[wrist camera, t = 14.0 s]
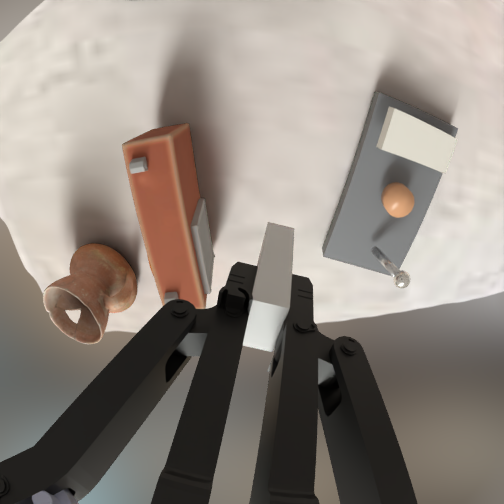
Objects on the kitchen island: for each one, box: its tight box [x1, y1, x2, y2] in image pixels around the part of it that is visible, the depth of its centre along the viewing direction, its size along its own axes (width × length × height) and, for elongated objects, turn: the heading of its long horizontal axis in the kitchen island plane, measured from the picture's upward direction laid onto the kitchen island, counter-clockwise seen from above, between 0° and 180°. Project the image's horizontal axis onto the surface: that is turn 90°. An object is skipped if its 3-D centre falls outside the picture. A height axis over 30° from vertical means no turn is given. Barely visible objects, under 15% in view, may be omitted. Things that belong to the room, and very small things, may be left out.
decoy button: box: [381, 182, 414, 218], centre depth 35 cm, size 4×4×2 cm
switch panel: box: [322, 92, 458, 276], centre depth 38 cm, size 24×12×4 cm, turn 167°
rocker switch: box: [376, 107, 458, 174], centre depth 31 cm, size 5×11×1 cm, turn 77°
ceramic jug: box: [43, 243, 137, 344], centre depth 48 cm, size 18×14×14 cm
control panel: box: [122, 123, 215, 309], centre depth 38 cm, size 21×7×15 cm, turn 5°
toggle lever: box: [371, 246, 410, 288], centre depth 37 cm, size 2×2×8 cm
